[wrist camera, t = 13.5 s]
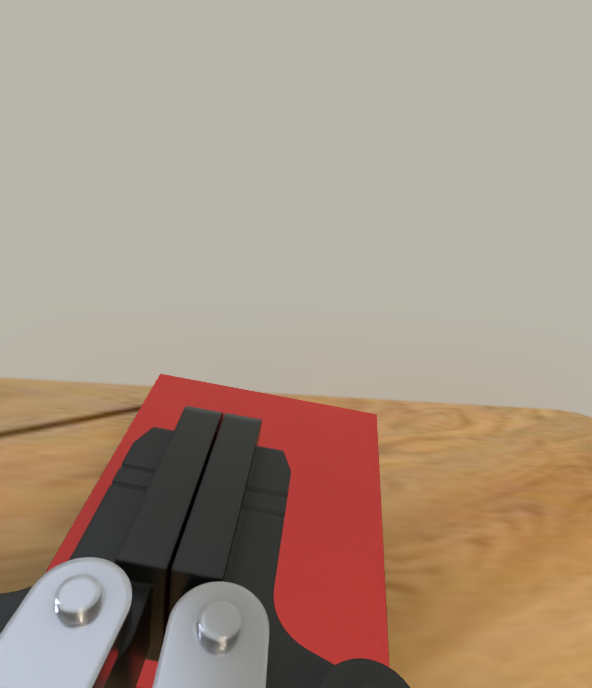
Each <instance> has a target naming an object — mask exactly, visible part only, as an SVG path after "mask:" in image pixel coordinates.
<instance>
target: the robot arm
mask: <svg viewBox="0 0 592 688" xmlns="http://www.w3.org/2000/svg"><path fill="white" fill-rule="evenodd" d="M261 425H262V419H257V418H251V417H246V416H240V415H235V414H230V413H225V415H224V414H223V412H218V411H213V410H207V409H202V408H196V407H191V406H186V407H185V408H184V410H183V412H182V414H181V416H180V419H179V421H178V423H177V425H176V427H175V430H169V429H163V428H158V427H153V428H151V429H150V430H149V431H147V432H146V433H145V434H143V435H142V436H141V437H140V438H138V439H137V440H136V441H134V442H133V444H132V446H131V447H130V449H129V451H128V453H127V455H126V457H125V458H124V460H123V462H122V466H121V468H119V469H118V471H117V473H116V475H115V477H114V479H113V480H112V485H110V486H109V488H108V490H107V491H106V493H105V495H104V497H103V499H102V501H101V502H100V504H99V506H98V508H97V510H96V512H95V514H94V515H93V517H92V519H91V521H90V523H89V525H88V526H87V528H86V530H85V532H84V534H83V536H82V537H81V539H80V541H79V543H78V545H77V547H76V548H75V550H74V552H73V554H72V555H71V557H70V558H69V560H68V561H66V562H64V563H61V564H59V565H57V566H55V567H54V568H52V569H50V570H49V571H48V572H46V573H45V574H44V575H43V576H42V577H41V578H40V579H38V580H37V582H36V583H35V584H34V585H33V586H31V587H29V588H26V589H23V590H19V591H15V592H10V593H3V594H0V688H136V686H137V683H138V680H139V677H140V674H141V671H142V668H143V665H144V662H145V659H147V660H152V661H157V662H158V666H157V670H156V674H155V679H154V683H153V687H152V688H410V687H409V686H408V684H407V683H406V682H405V681H404V680H403V678H402V677H400V676H399V675H398V674H397V673H396V672H395V671H393V670H392V669H391V668H389V667H388V666H386V665H384V664H382V663H380V662H377V661H374V660H371V659H364V658H353V659H349V660H344V661H342V662H340V663H338V664H336V665H334V664H333V663H331V662H329V661H327V660H326V659H324V658H322V657H320V656H318V655H317V654H315V653H313V652H311V651H310V650H308V649H306V648H305V647H303V646H302V645H300V644H299V643H298V642H297V641H295V640H294V639H293V638H292V637H291V636H290V635H289V633H288V632H287V631H286V630H285V628H284V627H283V625H282V624H281V622H280V620H279V618H278V615H277V613H276V609H275V605H274V586H275V579H276V573H277V566H278V559H279V552H280V546H281V539H282V532H283V525H284V518H285V512H286V505H287V497H288V491H289V484H290V478H291V469H290V467H289V464H288V461H287V459H286V456H285V453H284V451H283V450H277V449H272V448H266V447H261V446H258V445H259V438H260V432H261Z"/></svg>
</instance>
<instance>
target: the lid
mask: <svg viewBox="0 0 592 688" xmlns="http://www.w3.org/2000/svg"><path fill="white" fill-rule="evenodd" d="M186 406H191V407H196V408H202V409H207V410H213V411H218V412H223V414H224V415H225V413H230V414H235V415H240V416H246V417H251V418H257V419H262V425H261V432H260V438H259V445H258V446H261V447H266V448H272V449H277V450H283V451H284V453H285V456H286V459H287V461H288V464H289V467H290V469H291V478H290V484H289V491H288V497H287V505H286V512H285V518H284V525H283V532H282V539H281V546H280V552H279V559H278V566H277V573H276V579H275V586H274V605H275V609H276V613H277V615H278V618H279V620H280V622H281V624H282V625H283V627H284V628H285V630H286V631H287V632H288V633H289V635H290V636H291V637H292V638H293V639H294V640H295V641H297V642H298V643H299V644H300V645H302V646H303V647H305V648H306V649H308V650H310V651H311V652H313V653H315V654H317V655H318V656H320V657H322V658H324V659H326V660H327V661H329V662H331V663H333V664H334V665H336V664H338V663H340V662H342V661H344V660H349V659H353V658H364V659H371V660H374V661H377V662H380V663H382V664H384V665H386V666H388V667H389V651H388V631H387V611H386V591H385V571H384V551H383V532H382V512H381V492H380V472H379V452H378V432H377V415H376V414H372V413H367V412H361V411H356V410H351V409H345V408H340V407H335V406H329V405H324V404H319V403H313V402H308V401H302V400H297V399H292V398H286V397H281V396H276V395H270V394H265V393H260V392H254V391H249V390H244V389H238V388H233V387H228V386H222V385H217V384H211V383H206V382H201V381H196V380H190V379H185V378H180V377H174V376H169V375H164V374H160V375H159V377H158V379H157V380H156V382H155V384H154V386H153V387H152V389H151V391H150V393H149V394H148V396H147V398H146V399H145V401H144V403H143V405H142V406H141V408H140V410H139V412H138V413H137V415H136V417H135V418H134V420H133V422H132V424H131V425H130V427H129V429H128V431H127V432H126V434H125V436H124V437H123V439H122V441H121V443H120V444H119V446H118V448H117V450H116V451H115V453H114V455H113V456H112V458H111V460H110V462H109V463H108V465H107V467H106V469H105V470H104V472H103V474H102V476H101V477H100V479H99V481H98V482H97V484H96V486H95V488H94V489H93V491H92V493H91V495H90V496H89V498H88V500H87V501H86V503H85V505H84V507H83V508H82V510H81V512H80V514H79V515H78V517H77V519H76V520H75V522H74V524H73V526H72V527H71V529H70V531H69V533H68V534H67V536H66V538H65V539H64V541H63V543H62V545H61V546H60V548H59V550H58V552H57V553H56V555H55V557H54V558H53V560H52V562H51V564H50V565H49V567H48V569H47V571H46V572H48V571H49V570H50V569H52V568H54V567H55V566H57V565H59V564H61V563H64V562H66V561H68V560H69V558H70V557H71V555H72V554H73V552H74V550H75V548H76V547H77V545H78V543H79V541H80V539H81V537H82V536H83V534H84V532H85V530H86V528H87V526H88V525H89V523H90V521H91V519H92V517H93V515H94V514H95V512H96V510H97V508H98V506H99V504H100V502H101V501H102V499H103V497H104V495H105V493H106V491H107V490H108V488H109V486H110V485H112V480H113V479H114V477H115V475H116V473H117V471H118V469H119V468H121V466H122V462H123V460H124V458H125V457H126V455H127V453H128V451H129V449H130V447H131V446H132V444H133V442H134V441H136V440H137V439H138V438H140V437H141V436H142V435H143V434H145V433H146V432H147V431H149V430H150V429H151V428H153V427H158V428H163V429H169V430H175V427H176V425H177V423H178V421H179V419H180V416H181V414H182V412H183V410H184V408H185V407H186ZM46 572H45V573H46ZM157 666H158V662H157V661H152V660H147V659H145V662H144V665H143V668H142V671H141V674H140V677H139V680H138V683H137V686H136V688H152V687H153V683H154V679H155V674H156V670H157Z"/></svg>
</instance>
